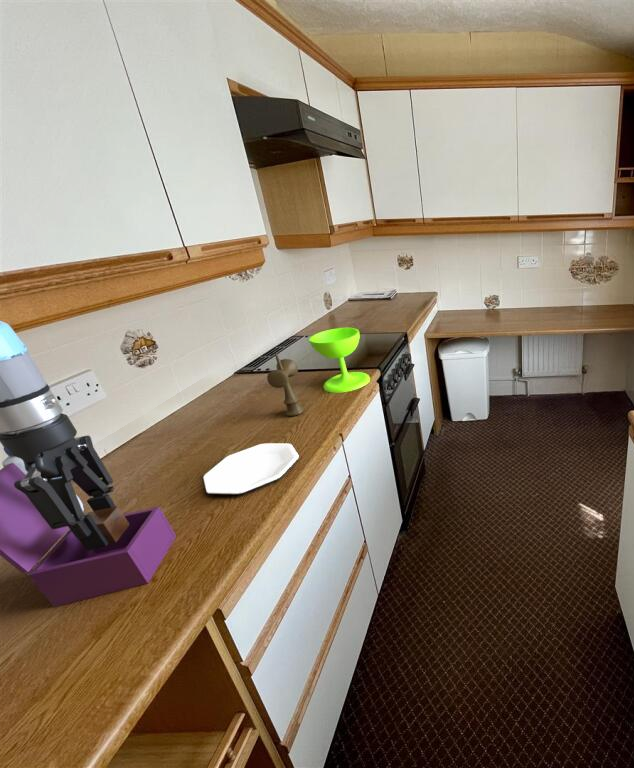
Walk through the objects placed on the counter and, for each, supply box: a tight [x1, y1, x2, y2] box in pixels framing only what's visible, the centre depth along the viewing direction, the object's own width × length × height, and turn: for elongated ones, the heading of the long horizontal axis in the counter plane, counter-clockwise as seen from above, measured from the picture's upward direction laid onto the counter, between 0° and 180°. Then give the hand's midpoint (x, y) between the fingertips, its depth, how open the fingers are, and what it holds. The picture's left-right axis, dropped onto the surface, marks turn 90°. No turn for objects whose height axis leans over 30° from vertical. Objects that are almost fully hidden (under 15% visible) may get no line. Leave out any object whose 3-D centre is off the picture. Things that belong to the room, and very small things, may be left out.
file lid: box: [0, 463, 70, 574], centre depth 67 cm, size 14×12×1 cm
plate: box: [202, 442, 300, 496], centre depth 100 cm, size 20×20×2 cm
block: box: [78, 505, 130, 549], centre depth 71 cm, size 4×4×4 cm
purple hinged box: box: [27, 506, 177, 608], centre depth 73 cm, size 14×12×8 cm
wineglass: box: [308, 327, 371, 394], centre depth 141 cm, size 16×16×18 cm
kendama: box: [266, 353, 305, 417], centre depth 122 cm, size 6×10×20 cm, turn 9°
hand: (106, 535), depth 72 cm, fingers closed on block, 4 cm apart
